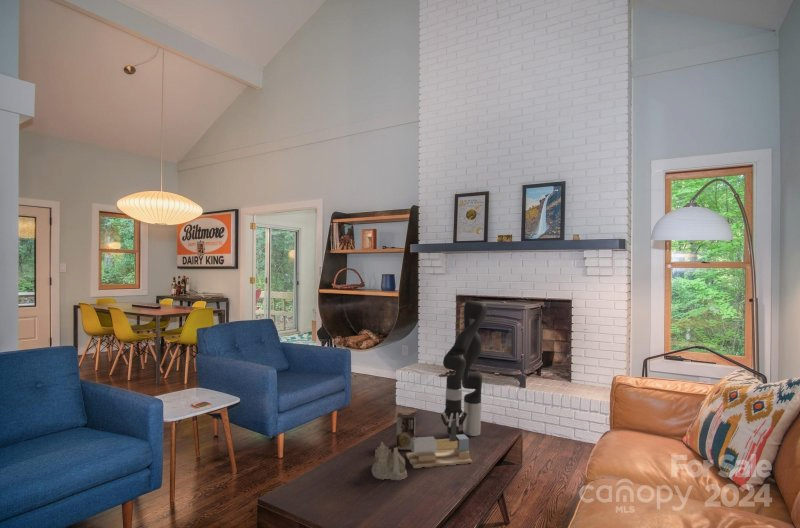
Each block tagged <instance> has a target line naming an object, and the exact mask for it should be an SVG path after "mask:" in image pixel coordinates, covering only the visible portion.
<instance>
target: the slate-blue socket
mask: <svg viewBox="0 0 800 528" xmlns="http://www.w3.org/2000/svg"><path fill="white" fill-rule="evenodd" d="M456 438H457V439H458V440H459V448H453V449H454V453H455V454H456V455H457V456H458V457H459V459H465V458H470V457H471V456H470V454H471V453H470V451H469V450H470V439H469V437H468V435H466V434H464V433H462V434H456ZM470 459H471V458H470Z"/></svg>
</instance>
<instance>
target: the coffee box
mask: <svg viewBox="0 0 800 528" xmlns="http://www.w3.org/2000/svg"><path fill="white" fill-rule="evenodd" d="M411 438H416V413H412V412H409V413H408V412H397V414H396V438H395V439H396V445H395V446H396V447H395V448H397V449H398V450H407V451H411Z"/></svg>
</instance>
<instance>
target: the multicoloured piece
mask: <svg viewBox="0 0 800 528" xmlns="http://www.w3.org/2000/svg"><path fill="white" fill-rule="evenodd" d="M448 435H449V434H448ZM456 435H457V434H456V421H455V420H454V419H452V422H451V435H449V437H448V438H441V439H440V438H439V439H437V438H435V439H436V441H437V450H448V449H454V448H459V440H458V439H457V438H456Z"/></svg>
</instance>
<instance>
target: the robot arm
mask: <svg viewBox="0 0 800 528" xmlns="http://www.w3.org/2000/svg"><path fill="white" fill-rule="evenodd" d="M487 313H488V305H487V304H486V303H484V302H481V301H475V300H472V299H471V300H469V299H468V300H466V302H465V303H464V308H463V321H464V324H463V325H464V327H463V328H464V329H463V330H462V331H461V332H459V334H458V335H457V337H456V339H455V342H454V344H453V345H452V347H451V348H450V349H449V351H448V352H446V354H445V355H444V357H443V359H442V360H443V362H442V363H443V367H444V368H445V369H447V370H452V371H455V373H453V374H448V375H447V376H446V387H445V388H446V389H445V403H444V404H445V408H444V410H443V412H440V413H439V414H438V415H439V417H440V419H441V421H442V424H443V425H444V426H445V427H446V431H447V434H448V435H451V422H452V420H455V421H456V435H458V433H459V428H460V426H462V425H463V427H462V428H463V429H462V431H463V433H462V434H465V435H466V436H469V437H477V436H480V435H481V427H482V426H481V423H482V420H481V419H482V388H483V387H482V386H483V375H482V372H481V371H470V369H471V367H472V365H473V364H474V363H475V362H476V361H477V359H478V358H479V357H480V356H481V353H482V339H481V336H480V335H479V333H478V331H479V328H480V327H481V325H482V324H483V322H484V321H485V319H486V316H487ZM462 355H463V356H462ZM462 388H464V389H465V390H466V389H467V390H474V391H472V392H470V393H466V394H465V395H464V396H463V395H462V393H463V392H462ZM462 398H463V399H462ZM462 400H463V409H462ZM445 417H447V418H445ZM446 420H447V421H446Z"/></svg>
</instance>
